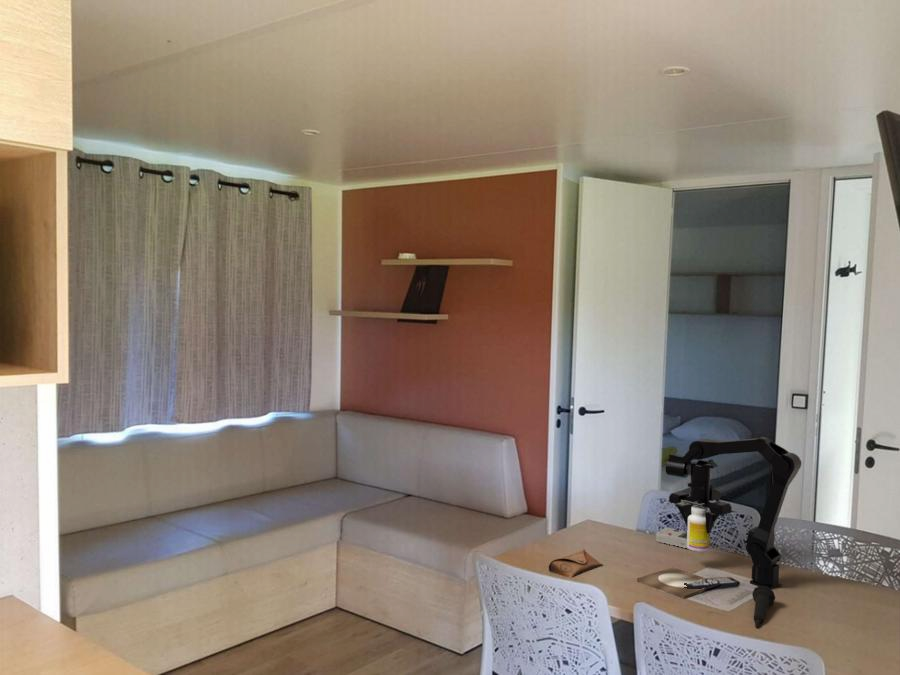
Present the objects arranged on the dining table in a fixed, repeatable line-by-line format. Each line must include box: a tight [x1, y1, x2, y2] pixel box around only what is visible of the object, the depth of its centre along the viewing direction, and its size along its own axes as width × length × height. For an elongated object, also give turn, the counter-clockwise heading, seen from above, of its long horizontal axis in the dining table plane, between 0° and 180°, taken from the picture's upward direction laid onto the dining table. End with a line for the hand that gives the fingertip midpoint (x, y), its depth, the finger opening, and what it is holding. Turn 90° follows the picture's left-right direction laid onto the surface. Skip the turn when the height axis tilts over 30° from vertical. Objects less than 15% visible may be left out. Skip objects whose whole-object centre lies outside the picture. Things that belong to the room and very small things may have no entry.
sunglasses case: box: [548, 549, 604, 579], centre depth 226 cm, size 18×7×7 cm
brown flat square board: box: [636, 566, 707, 599], centre depth 214 cm, size 16×17×1 cm
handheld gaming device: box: [655, 527, 689, 550], centre depth 252 cm, size 9×15×4 cm, turn 48°
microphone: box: [751, 585, 776, 629], centre depth 193 cm, size 6×6×20 cm
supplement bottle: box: [686, 505, 711, 553], centre depth 228 cm, size 7×7×13 cm
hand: (698, 530), depth 228 cm, fingers closed on supplement bottle, 7 cm apart
